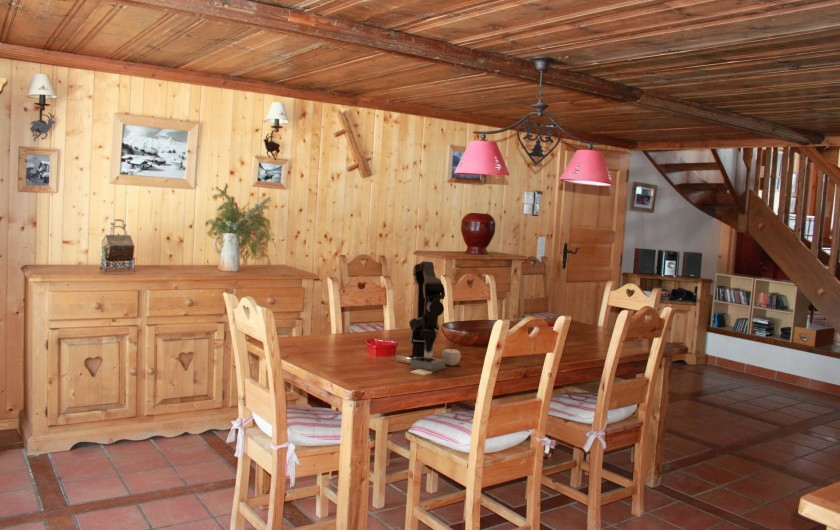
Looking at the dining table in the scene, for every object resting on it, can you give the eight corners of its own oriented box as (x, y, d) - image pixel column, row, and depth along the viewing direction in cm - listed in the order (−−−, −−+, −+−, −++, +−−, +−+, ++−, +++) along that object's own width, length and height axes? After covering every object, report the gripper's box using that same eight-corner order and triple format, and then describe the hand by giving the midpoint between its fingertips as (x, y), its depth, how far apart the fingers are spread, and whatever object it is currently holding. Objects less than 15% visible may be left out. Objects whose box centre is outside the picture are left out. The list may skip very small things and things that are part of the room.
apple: (439, 365, 292) (441, 350, 291) (441, 362, 299) (443, 346, 299) (459, 367, 291) (460, 352, 290) (460, 363, 298) (462, 348, 298)
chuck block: (403, 359, 298) (404, 351, 298) (444, 368, 287) (445, 359, 287) (389, 363, 290) (390, 354, 290) (431, 372, 279) (431, 363, 279)
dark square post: (424, 361, 288) (425, 338, 287) (432, 362, 287) (434, 339, 287) (423, 363, 284) (424, 339, 283) (431, 364, 284) (433, 340, 283)
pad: (419, 370, 281) (419, 368, 281) (432, 373, 278) (432, 371, 278) (410, 372, 276) (410, 371, 276) (423, 375, 273) (423, 374, 272)
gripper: (413, 307, 294) (410, 344, 295) (408, 313, 275) (406, 353, 277) (440, 309, 293) (437, 346, 294) (437, 316, 275) (434, 356, 276)
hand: (428, 350), depth 285 cm, fingers closed on dark square post, 3 cm apart
